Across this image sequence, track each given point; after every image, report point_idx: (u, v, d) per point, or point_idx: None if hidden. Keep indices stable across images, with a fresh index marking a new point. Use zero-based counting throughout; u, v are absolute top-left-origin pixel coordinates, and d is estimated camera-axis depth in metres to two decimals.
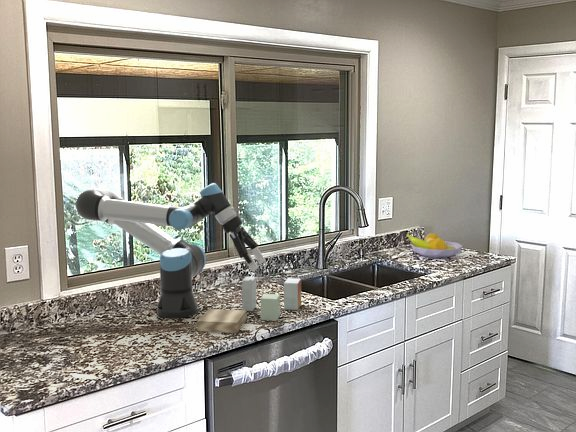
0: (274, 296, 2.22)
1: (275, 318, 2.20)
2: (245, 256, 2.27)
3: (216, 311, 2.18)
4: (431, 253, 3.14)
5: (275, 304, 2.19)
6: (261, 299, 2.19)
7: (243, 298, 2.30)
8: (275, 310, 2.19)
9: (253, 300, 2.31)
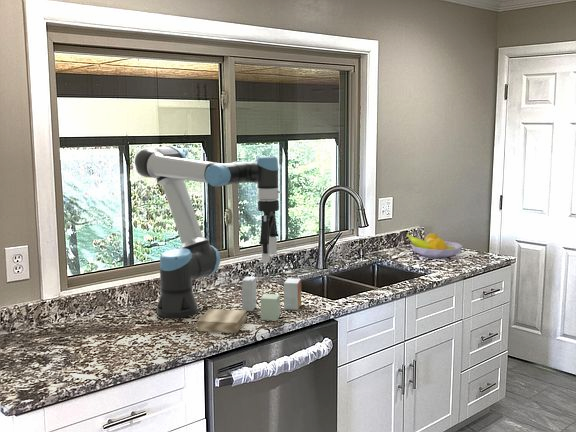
0: (274, 296, 2.22)
1: (275, 318, 2.20)
2: (264, 245, 2.11)
3: (216, 311, 2.18)
4: (431, 253, 3.14)
5: (275, 304, 2.19)
6: (261, 299, 2.19)
7: (243, 298, 2.30)
8: (275, 310, 2.19)
9: (253, 300, 2.31)
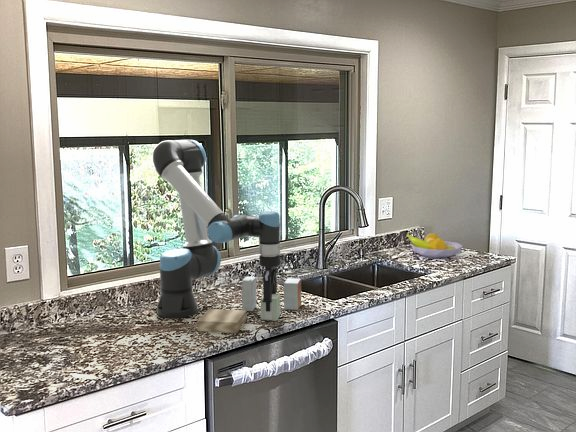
0: (274, 295, 2.22)
1: (275, 318, 2.19)
2: (267, 303, 2.17)
3: (216, 311, 2.18)
4: (431, 253, 3.14)
5: (275, 304, 2.19)
6: (261, 299, 2.19)
7: (243, 298, 2.30)
8: (275, 310, 2.19)
9: (253, 300, 2.31)
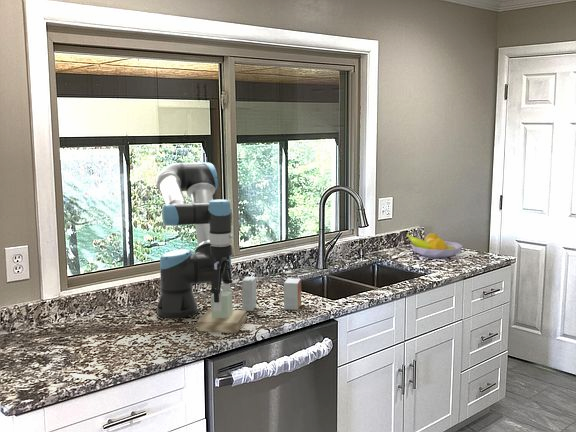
0: (225, 293, 2.14)
1: (226, 316, 2.11)
2: (215, 294, 2.06)
3: None
4: (431, 253, 3.14)
5: (226, 301, 2.10)
6: (211, 296, 2.11)
7: (243, 298, 2.30)
8: (226, 308, 2.10)
9: (253, 300, 2.31)
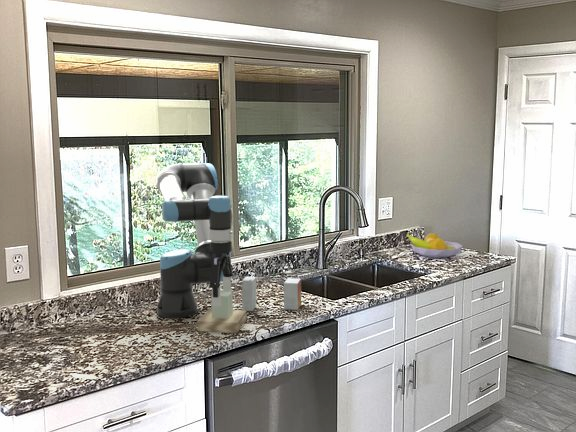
0: (225, 293, 2.14)
1: (226, 316, 2.11)
2: (214, 289, 2.04)
3: None
4: (431, 253, 3.14)
5: (226, 301, 2.10)
6: None
7: (243, 298, 2.30)
8: (226, 308, 2.10)
9: (253, 300, 2.31)
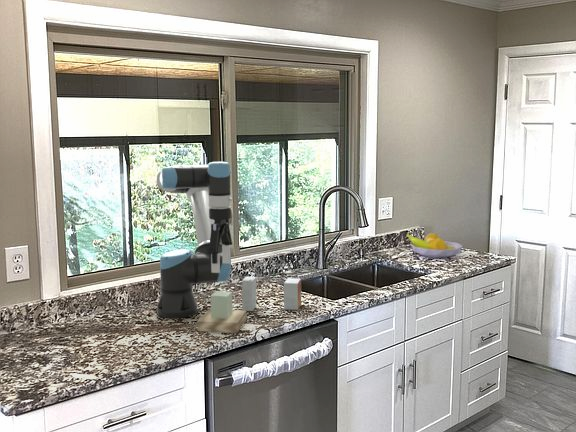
0: (225, 293, 2.14)
1: (226, 316, 2.11)
2: (214, 254, 2.03)
3: None
4: (431, 253, 3.14)
5: (225, 302, 2.10)
6: (211, 296, 2.11)
7: (243, 298, 2.30)
8: (226, 308, 2.10)
9: (253, 300, 2.31)
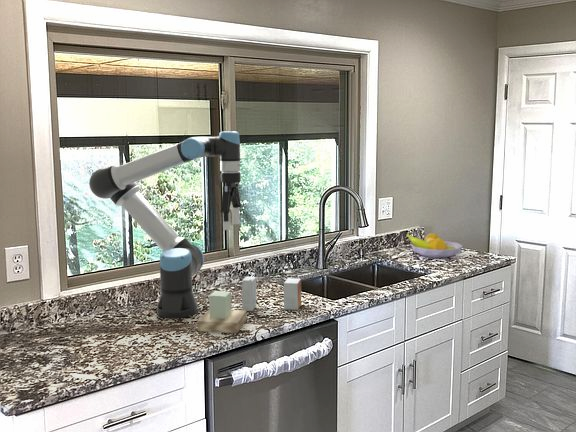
0: (224, 293, 2.13)
1: (224, 316, 2.11)
2: (225, 213, 2.27)
3: None
4: (431, 253, 3.14)
5: (224, 302, 2.10)
6: (210, 296, 2.11)
7: (243, 298, 2.30)
8: (224, 308, 2.10)
9: (253, 300, 2.31)
